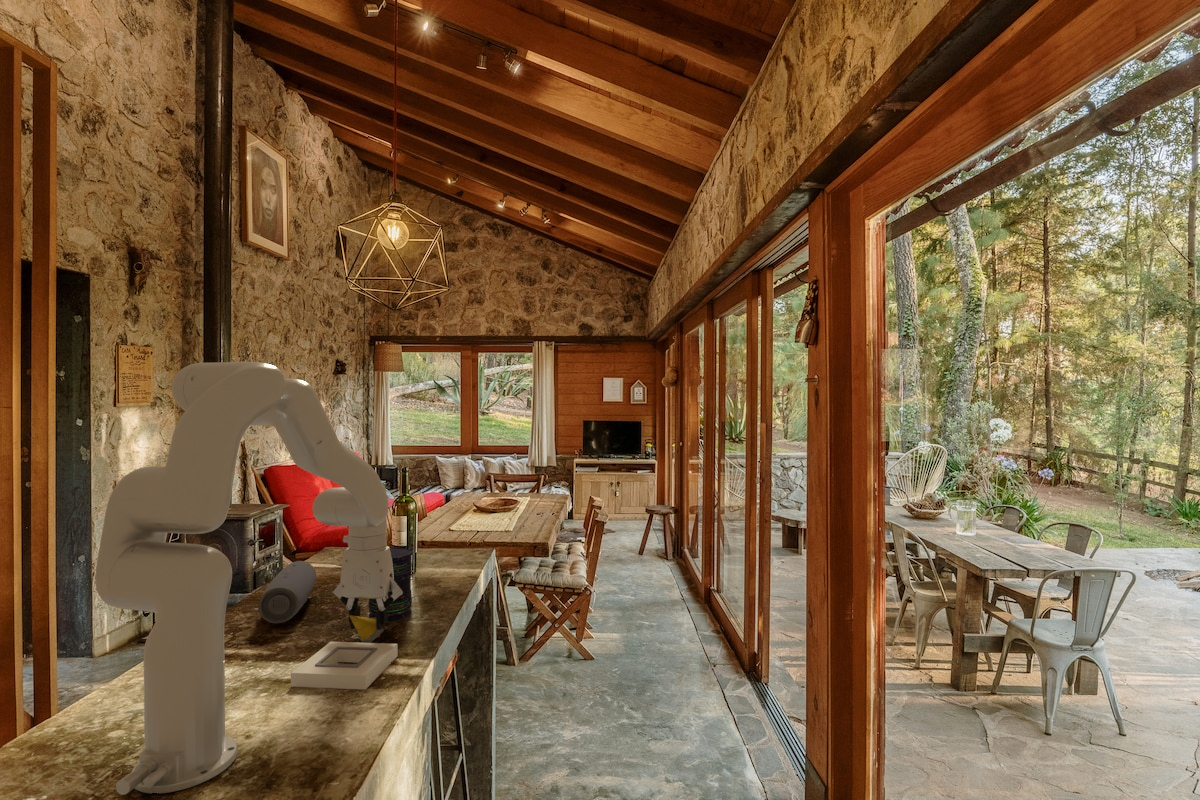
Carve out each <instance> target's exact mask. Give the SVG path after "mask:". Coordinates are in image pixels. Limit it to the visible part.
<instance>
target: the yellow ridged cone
mask: <svg viewBox="0 0 1200 800" xmlns="http://www.w3.org/2000/svg"><path fill="white" fill-rule="evenodd" d="M349 616H350V618H351V620H352V622H353V624H354V626H355V628H354V629H356V632H357V633H358V640H360V641H361V643H373V641H374V640H375V639H377V638H381V635H382V634H383V633H384V631H385V629H383V628H382V629H381V630H377V628H376V617H373V618H369V617H365V616H360V617H359V616H353V615H349V614H348V617H349Z"/></svg>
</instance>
